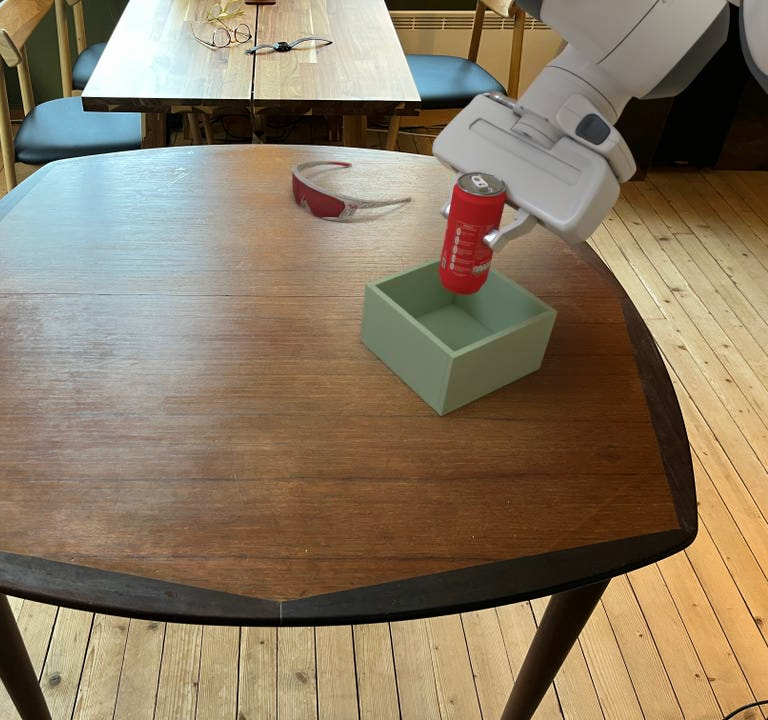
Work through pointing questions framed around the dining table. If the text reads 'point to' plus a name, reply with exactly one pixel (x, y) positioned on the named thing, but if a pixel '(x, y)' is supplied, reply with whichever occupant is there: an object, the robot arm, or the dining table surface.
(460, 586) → the dining table surface
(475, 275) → the beverage can
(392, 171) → the dining table surface
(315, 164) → the sunglasses
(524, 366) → the bin
